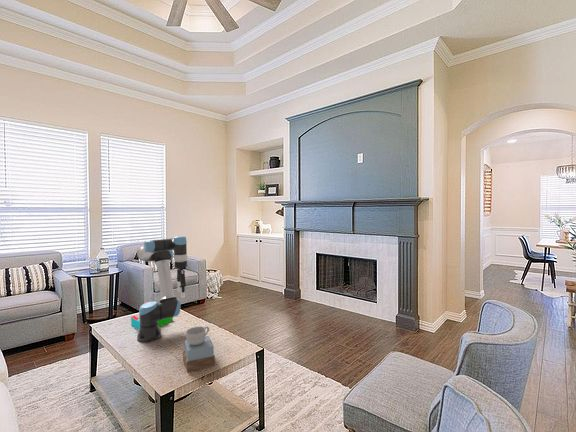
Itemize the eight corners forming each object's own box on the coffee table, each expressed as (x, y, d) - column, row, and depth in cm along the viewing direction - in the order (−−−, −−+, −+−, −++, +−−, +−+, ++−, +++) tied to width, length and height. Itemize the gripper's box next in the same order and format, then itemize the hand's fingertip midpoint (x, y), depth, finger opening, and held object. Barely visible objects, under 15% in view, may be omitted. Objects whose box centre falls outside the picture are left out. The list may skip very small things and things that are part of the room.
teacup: (190, 349, 166) (189, 335, 166) (183, 342, 175) (183, 329, 174) (214, 342, 174) (213, 328, 174) (206, 335, 183) (206, 323, 183)
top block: (185, 350, 178) (184, 340, 177) (209, 345, 183) (209, 335, 183) (187, 361, 165) (187, 350, 165) (213, 356, 171) (213, 345, 170)
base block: (183, 360, 177) (182, 350, 177) (208, 354, 184) (208, 344, 184) (187, 373, 164) (187, 362, 164) (214, 366, 171) (214, 355, 171)
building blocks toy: (174, 321, 236) (173, 298, 235) (141, 332, 218) (140, 307, 217) (163, 315, 249) (162, 294, 248) (131, 325, 231) (130, 301, 230)
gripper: (171, 258, 199) (172, 290, 200) (176, 265, 177) (177, 300, 178) (183, 257, 202) (184, 288, 203) (190, 263, 180) (191, 298, 181)
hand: (181, 294), depth 190 cm, fingers open, 13 cm apart
